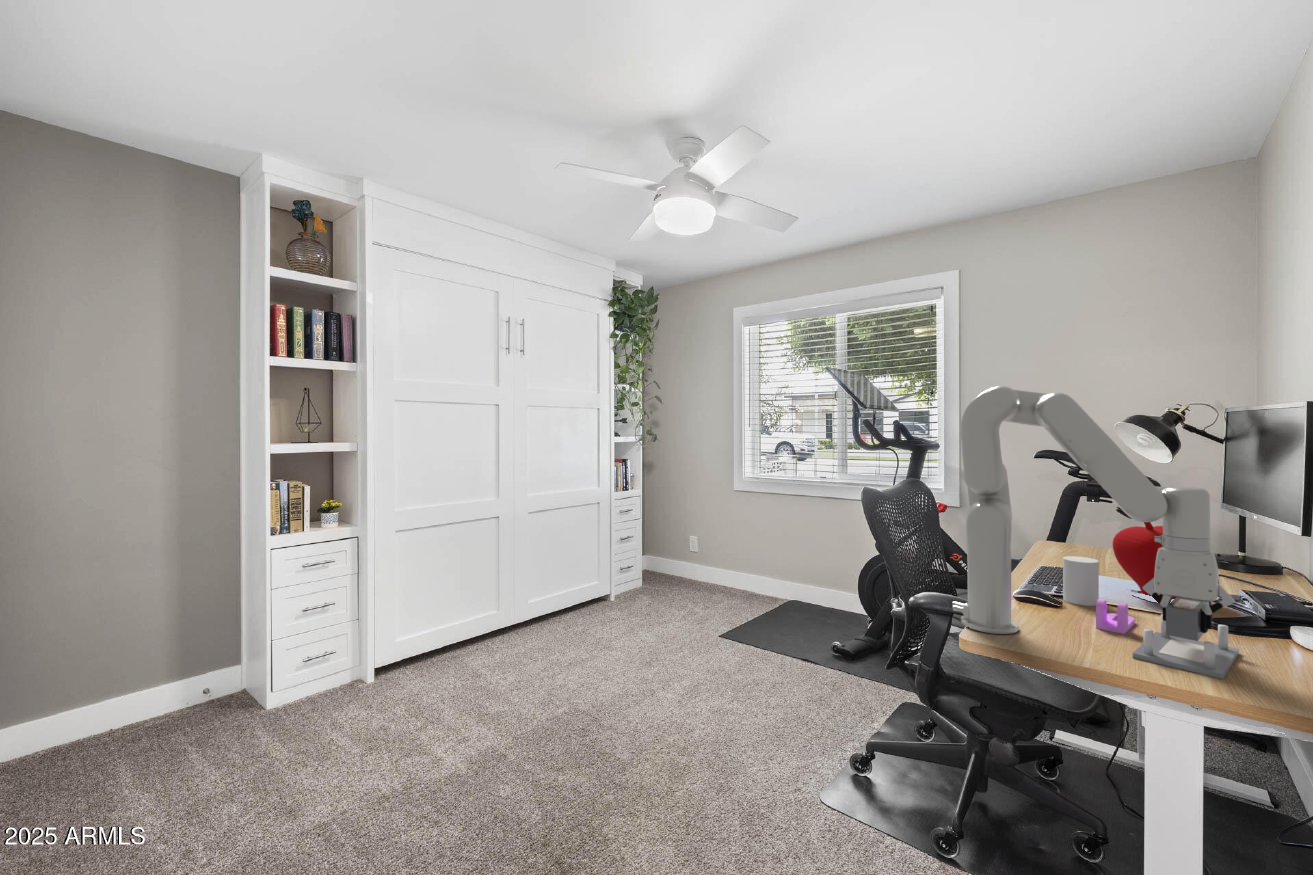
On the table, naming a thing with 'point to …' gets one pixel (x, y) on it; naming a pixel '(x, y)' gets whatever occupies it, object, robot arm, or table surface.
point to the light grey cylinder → (1080, 580)
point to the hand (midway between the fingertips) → (1186, 627)
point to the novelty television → (1138, 552)
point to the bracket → (1113, 618)
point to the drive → (1184, 619)
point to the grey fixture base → (1188, 652)
